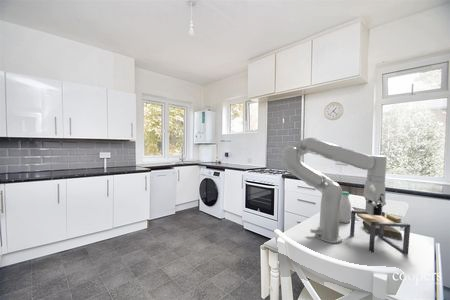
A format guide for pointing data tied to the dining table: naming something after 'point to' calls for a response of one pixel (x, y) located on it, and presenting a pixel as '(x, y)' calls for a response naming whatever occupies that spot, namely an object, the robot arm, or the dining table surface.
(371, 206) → the granite block
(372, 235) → the frame
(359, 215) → the trapdoor
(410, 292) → the dining table surface
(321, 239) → the robot arm
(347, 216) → the milk bottle
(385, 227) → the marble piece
